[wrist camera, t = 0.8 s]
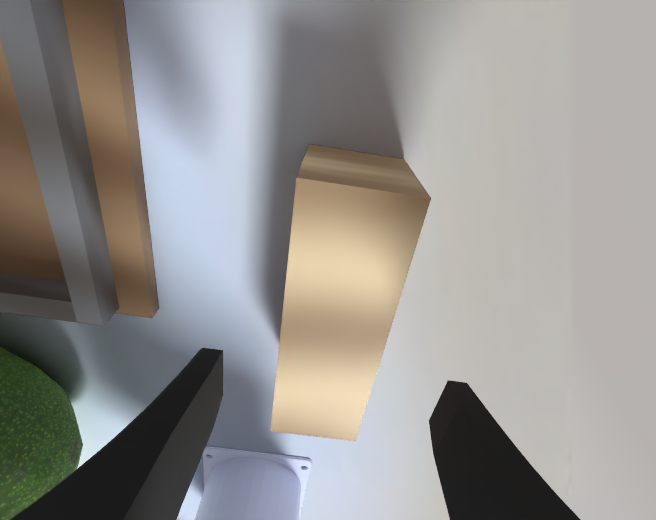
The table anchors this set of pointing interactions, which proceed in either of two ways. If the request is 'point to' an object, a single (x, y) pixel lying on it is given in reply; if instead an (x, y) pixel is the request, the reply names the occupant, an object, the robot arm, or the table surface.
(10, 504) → the fruit
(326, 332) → the wooden block
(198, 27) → the table surface
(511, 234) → the table surface
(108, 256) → the channel
